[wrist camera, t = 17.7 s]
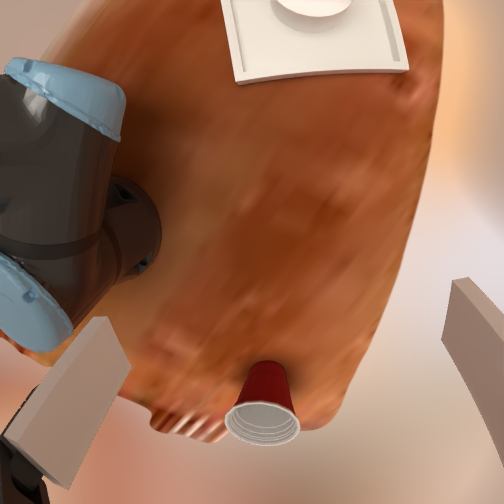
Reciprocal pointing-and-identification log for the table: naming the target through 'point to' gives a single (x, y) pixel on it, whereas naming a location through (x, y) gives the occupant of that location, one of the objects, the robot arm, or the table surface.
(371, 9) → the tray
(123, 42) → the table surface
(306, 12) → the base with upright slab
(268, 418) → the plastic cup
